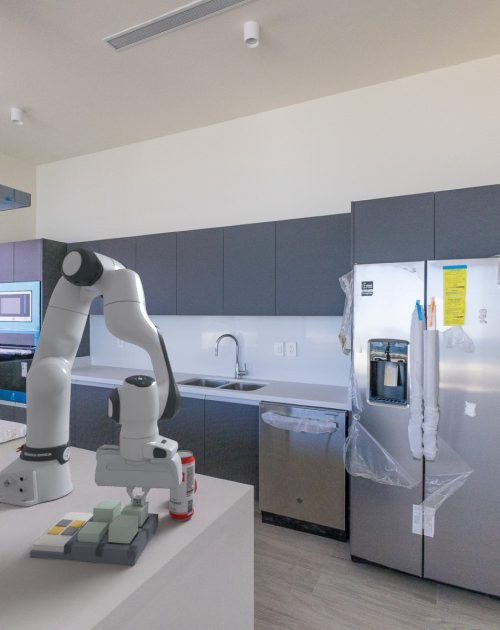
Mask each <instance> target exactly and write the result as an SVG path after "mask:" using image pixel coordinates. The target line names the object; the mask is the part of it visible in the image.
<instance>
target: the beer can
mask: <svg viewBox="0 0 500 630" xmlns="http://www.w3.org/2000/svg"><path fill="white" fill-rule="evenodd" d="M176 452H177V453H178V454H179V456H180V458H181V463H182V482H181V484H180V485H179V486H178V487H177V488H176V489H169V505H168V507H169V508H168V509H169V510H168V514H169V517H170V518H171V519H172V520H174V521H176V522H185V521H188V520H189V519H190V518H192V517H193V515H194V513H195V494H194V479H195V480H196V478H195V469H196V467H195V466H196V462H195V461H196V460H195V457H194V455H193V454H194V453H193V452H192V451H190V450H183V449H182V450H177V451H176Z"/></svg>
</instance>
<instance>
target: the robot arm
mask: <svg viewBox="0 0 500 630" xmlns="http://www.w3.org/2000/svg"><path fill="white" fill-rule="evenodd" d="M60 270H61V275H62V276H61V277H60V278H59V279H58V281H57V283H56V285H55V287H54V289H53V291H52V293H51V297H50V299H49V302H48V306H47V308H46V311H45V314H44V318H43V322H42V326H41V328H40V332H39V336H38V339H37V344H36V347H35V351H34V354H33V358H32V361H31V365H30V368H29V369H28V371H27V374H26V381H25V383H26V386H25V387H26V391H25V393H26V394H25V396H26V397H25V399H26V400H25V401H26V409H25V410H26V428H25V429H26V433H25V443H23V444H21V446H19V447H17V448H16V451H15V452H16V453H18V452H20V454H19V457H17V458H15V460H14V461H12V462H10V463H9V464H8V465H7V466H5V467H3V469H2V470H1V471H0V503H4V504H9V505H14V506H20V507H30V506H33V505H37V504H40V503H44V502H49V501H52V500H56V499H60V498H62V497H64V496H66V495H69V494H70V493H71V492H72V491H73V490H74V488H75V487H74V482H73V479H72V475H71V467H70V458H71V439H70V415H71V414H70V411H71V410H70V409H71V393H72V392H71V389H72V388H71V387H72V369H73V366H74V363H75V359H76V356H77V353H78V350H79V347H80V344H81V341H82V338H83V334H84V330H85V328H86V323H87V320H88V317H89V316H88V315H89V312H90V308H91V305H92V302H93V301H94V299H95V298H97V297H100V298H102V299H103V302H102V305H103V306H102V309H103V319H104V324H105V328H106V329H107V331H108V332H109V333H110V334H111V335H112V336H114V337H115V338H117V339H118V340H120V341H123V342H126V343H129V344H131V345H135V346H137V347H139V348H141V349H143V350H144V351H145V352H146V353H147V354H148V355H149V357H150V361H151V365H152V369H153V373H154V377H152V376H149V375H145V374H135V375H130V376H128V377H126V378H124V380H123V382H122V385H120V386H117V387H115V388H114V389H112V390H111V391H110V392H109V394H108V395H107V417H108V419H109V420H111V422H113V423H114V424H116V425H121V427H120V432H119V444H103V445H101V446H98V448H97V449H96V452H95V460H96V466H95V472H94V483H95V485H96V486H98V487H114V488H115V487H118V488H121V487H122V488H126V493H127V494H128V497H129V498H130V499H131V500H130V501H131V505H132V506H144V505H145V503H146V502H147V501H146V500H147V499H146V498H147V495H148V494H149V492H150V490H151V489H164V490H165V489H167V490H168V489H169V490H170V489H176V488H177V487H178V486H179V485H180V484H181V482H182V463H181V458H180V456H179V454H178V453H177V452H176V451H178V449H179V443H178V441H176V440H173V439H170V438H167V437H165V436H163V435H160V434H159V433H160V432H159V430H160V429H159V427H158V422H168V421H169V422H170V421H172V419H174V418H175V417H176V416H177V414H178V413H179V412H180V411H181V409H182V396H181V394H180V390H179V387H178V384H177V382H176V380H175V377H174V373H173V368H172V366H171V362H170V359H169V355H168V350H167V347H166V343H165V341H164V337H163V334H162V331H161V329H160V328H159V326H158V325H156V324H154V323H153V322H152V321H151V319H150V317H149V315H148V312H147V309H146V308H147V306H146V299H145V293H144V287H143V283H142V280H141V277H140V275H139V274H138V273H137V272H136V271H135V270H132V269H130V268H129V267H128V266H126V265H125V264H124V263H121V262H119V261H117V260H115V259H114V258H112V257H110V256H107V255H104V254H101V253H98V252H95V251H93V250H91V249H89V248H84V247H74V248H71V249H70V250H69V251H68V252H67V253H66V254H65V255H64V257H63V259H62V261H61V266H60ZM135 488H141V491H142V495H137V493H136V491H135Z"/></svg>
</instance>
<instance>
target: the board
mask: <svg viewBox="0 0 500 630" xmlns="http://www.w3.org/2000/svg"><path fill="white" fill-rule="evenodd" d="M121 515H122V511H121ZM88 522H93V513H89V512H77V511H68V512H67V513H66V514H65V515H63V517H61V519H60V520H58V521H57V522H56V523H55V524H54V525H53V526H52V527H50V528H49V529H48V530H47V531H46V532H45V533H43V534H42V535H41V537H39V538H38V539H37V540H36V541H35V542H34V543H33V544H32V549H31V550H30V551H29V558H35V559H46V560H47V559H48V560H49V559H50V560H61V561H73V562H87V563H99V564H101V563H102V564H113V565H127V566H136V564H137V562H138V560H139V559H140V557H141V555H142V553H144V550H145V548H146V547H147V545H148V543H149V542H150V540H151V539H152V537H153V535H154V533H156V530H157V529H158V527H159V513H150V512H148V517H147V519H146V520H145V522H144V523H143V525H142V526H141V527H139V526H138V532H137V533H136V535H135V536H134V538H133V539H132V541H131V542H130V544H129V543H115V542H108V541H109V525H110V524H108V533H107V534H106V535H105V537H104V538H103V539H102V540H101V542H100V543H89V542H78V532H79V531H80V530H81V529H82V528H83V527H84V526H85V525H86V524H87V523H88Z"/></svg>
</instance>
